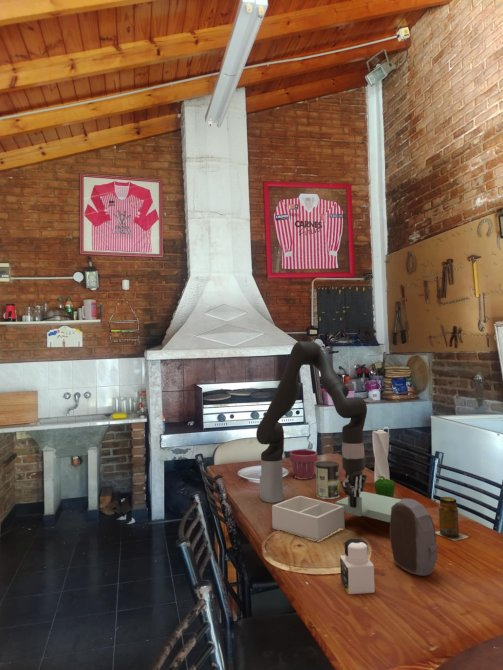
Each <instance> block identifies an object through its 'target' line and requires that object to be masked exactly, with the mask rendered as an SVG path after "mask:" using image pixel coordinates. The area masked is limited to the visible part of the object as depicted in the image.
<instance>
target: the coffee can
mask: <svg viewBox="0 0 503 670" xmlns="http://www.w3.org/2000/svg"><path fill="white" fill-rule="evenodd" d="M339 466H340V464H339V462H336V461H329V460H328V461H326V460H324V461H318V462H317V461H316V463H315V480H316V482H315V484H316V486H315V487H316V489H315V490H316V495H315V496H316V497H317V498H319V499H322V500H335V499H339V498H340V497H341V495H340V494H341V493H340V469H339Z"/></svg>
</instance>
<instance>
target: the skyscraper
mask: <svg viewBox="0 0 503 670" xmlns="http://www.w3.org/2000/svg"><path fill="white" fill-rule="evenodd" d="M385 429H387V432H386V431H384V430H385ZM389 431H390V428H389V427H388V426H384V427H383V429H378V430H372V449H373V455H374V482H375V481H377V480H378V479H382V478H379V477H378V476H383V477H385V479H388V480H391V479H390V467H389V461H388V456H389V448H390V444H389V443H390V438H389V437H390V433H389ZM382 480H383V479H382Z"/></svg>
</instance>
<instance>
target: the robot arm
mask: <svg viewBox="0 0 503 670" xmlns="http://www.w3.org/2000/svg"><path fill="white" fill-rule="evenodd" d="M304 365H305V366H314V368H316V369H317V370H318V372H319V373H320V382H321V385H322V387H323V390H325V391H326V393H327V394H328V396H329V397H330V398H331V400H332V404H333V406H334V409H335V412H336V413H337V414H338V416H339V417H341V418H343V419H350V420H349V422H348V423H347V424H345V425H343V426H342V429H341V436H342V438H341V439H342V444H341V445H342V446H341V456H342V457H341V459H342V460H341V461H342V469H343V470H344V471H345V475H344V480H341V481H340V485H341V487H342V490H343V492H344V495H345V496H349V497H350V507H353V508H356V496H357V497H359V495H360V494H361V492H364V488H365V485H366V481H367V475H366V474H363V471H364V470H365V468H366V465H365V464H366V463H365V461H366V460H365V446H364V427H365V424H366V418H367V413H368V407H367V406H368V405H367V403H366V401H365V399H364V398H363V397H360V396H353V397H352V396H351V397H349V394H350V390H349V389H350V388H348V386H347V385H346V383H345V382H344V381H343V380H342V379H341V377H340V376H339V375H338V374H337V373H336V371H335V369H334V368H333V366H332V364H331V362H330V361H329V359H328V358H327V355H326V353H325V352H324V350H323V349H322V347H321V346H320V345H319V343H317V342H314V341H302V340H300V341H296V342H295V343H294V344H293V346H292V348H291V350H290V353H289V357H288V359H287V363H286V367H285V370H284V372H283V375H282V376H281V379H280V381H279V384H278V385H277V387H276V389H275V392H274V393H273V394H274V395H273V397H272V399H271V401H270V403H269V406H268V408H267V410H266V411H265V414H264V416H263V417H262V418H261V421H260V422H259V424H258V426H257V428H256V433H255V434H256V439H257V442H258V443H259V444H260V445H268V446H267V448H266V449H265V450H263V451H262V452H261V453H260V466H261V467H260V470H261V475H260V476H259V499H260V500H261V501H263V502H265V503H270V504H271V503H272V504H273V503H274V504H275V503H281V502H283V501H284V483H283V482H284V481H283V480H284V478H283V477H284V475H283V470H284V469H283V455H284V451H285V449H284V448H285V446H284V445H285V431H284V426H283V425H282V424H281V422H279V421H280V420H281V419H282V418H283V417H284V416H285V415H287V413H289V412H290V410H291V409H292V408H293V407H294V405H295V404H296V402H297V399H298V397H299V395H300V385H299V379H298V376H299V373H300V370H301V369H302V367H303V366H304Z"/></svg>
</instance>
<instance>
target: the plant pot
mask: <svg viewBox="0 0 503 670" xmlns="http://www.w3.org/2000/svg"><path fill="white" fill-rule="evenodd" d="M289 460H290V461H291V465H292V470H293V474H294V477H295V476H296V477H299V478H310V477H313V478H314V473H315V470H316V465H315V463H317V461H318V452H317V451H316V450H311V449H294V450H293V449H292V450H291V451H290V452H289Z"/></svg>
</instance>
